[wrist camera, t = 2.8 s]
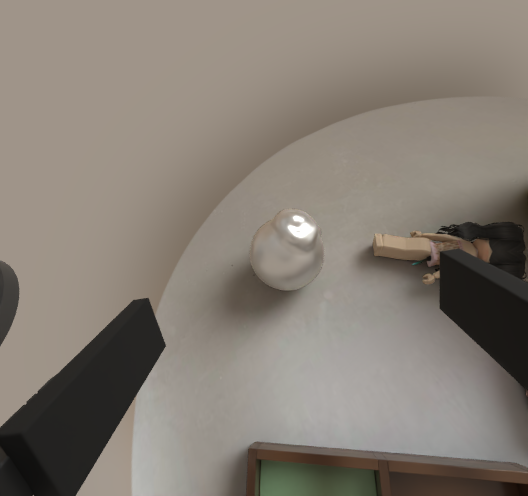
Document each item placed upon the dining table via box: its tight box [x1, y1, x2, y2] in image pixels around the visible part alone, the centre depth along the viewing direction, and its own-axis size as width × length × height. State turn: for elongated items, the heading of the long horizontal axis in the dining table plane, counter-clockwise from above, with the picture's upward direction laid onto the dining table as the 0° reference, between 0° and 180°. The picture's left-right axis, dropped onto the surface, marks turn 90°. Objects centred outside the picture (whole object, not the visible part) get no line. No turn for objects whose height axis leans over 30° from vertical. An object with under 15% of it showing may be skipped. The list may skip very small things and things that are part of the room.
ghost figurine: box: [250, 209, 324, 291], centre depth 32 cm, size 9×10×10 cm
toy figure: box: [373, 222, 526, 284], centre depth 31 cm, size 7×6×15 cm
